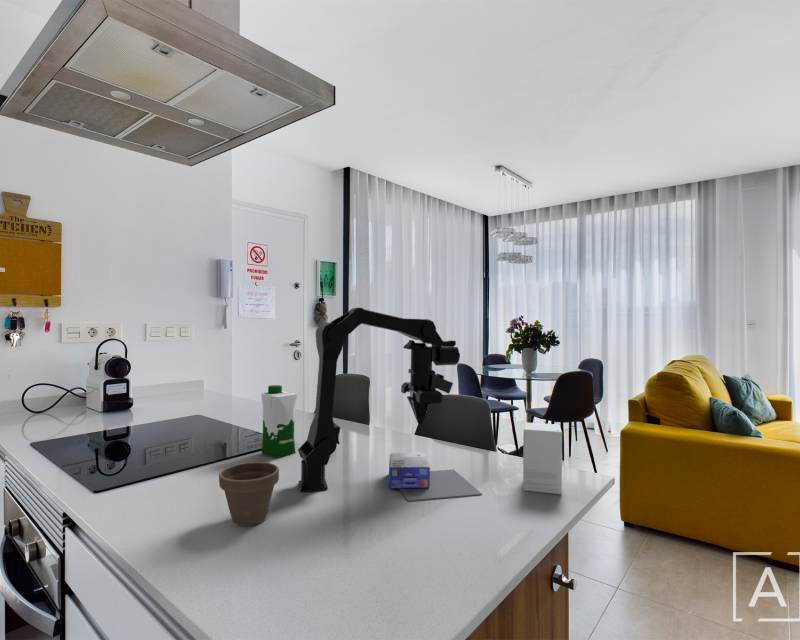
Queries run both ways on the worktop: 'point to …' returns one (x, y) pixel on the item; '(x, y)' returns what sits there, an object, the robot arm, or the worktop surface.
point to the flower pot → (249, 490)
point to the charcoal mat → (441, 487)
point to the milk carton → (278, 422)
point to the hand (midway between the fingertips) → (420, 424)
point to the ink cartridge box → (409, 470)
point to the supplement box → (542, 458)
